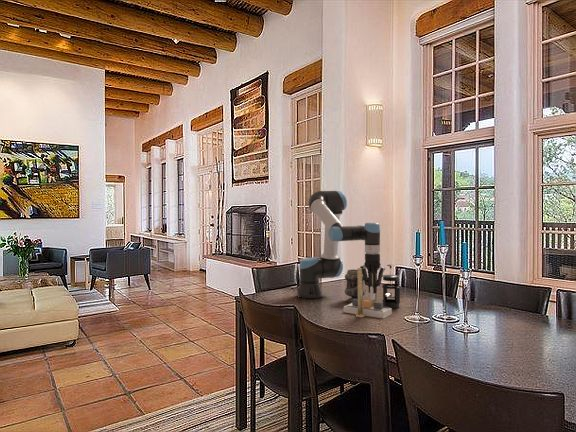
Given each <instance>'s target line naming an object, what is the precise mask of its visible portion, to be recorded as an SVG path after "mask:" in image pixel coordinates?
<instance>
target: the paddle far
mask: <svg viewBox="0 0 576 432" xmlns="http://www.w3.org/2000/svg"><path fill="white" fill-rule="evenodd" d="M374 308H375V309H383V302H382V301H376V302H374Z"/></svg>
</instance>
